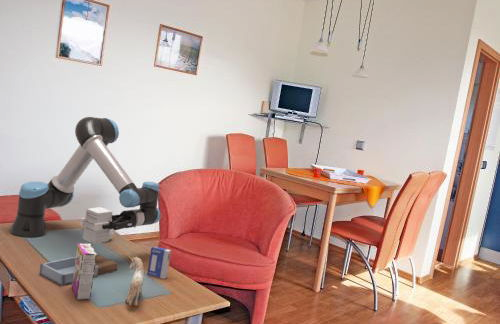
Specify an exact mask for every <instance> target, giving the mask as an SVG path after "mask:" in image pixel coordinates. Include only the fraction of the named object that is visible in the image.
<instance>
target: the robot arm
mask: <svg viewBox="0 0 500 324" xmlns="http://www.w3.org/2000/svg"><path fill="white" fill-rule="evenodd" d="M74 133H75V139H76V140H77V142H78V143H79V146H78V147H77V148H76V149H75V150H74V151H75V152H73V154H72V156H71V157H70V158H69V160H68V161H67V162H66V164H65V166H64V167H63V168H62V169H61V170H60V172H59V173H58V175H54V176H53V177H52V178H51V179H50V181H48V183H46V182H43V181H29V182H25V183H22V185H21V186H20V189H19V192H18V202H17V210H16V211H17V213H16V215H15V218H14V220H13V223H12V224H11V226H10V230H9V231H10V233H11V234H13V236H17V237H24V238H36V237H37V238H38V237H42V236H45V235H46V234H47V224H46V219H45V214H46V213H45V212H46V210H47V209H53V208H61V207H64V206H67V205H68V204H70V203H71V202H72V201H73V198H74V196H75V195H74V193H75V187H74V186H75V184H76V182H78V180H79V179H80V177H81V176H82V174H83V173H84V172H85V170H86V169H87V168H88V166H89V165H90V164H91V162H92V161H93V160H94V162H95V163H96V164H97V165H98V167H99V168H100V170H101V171H102V173H104V175H105V176H106V178H107V179H108V181H110V183H111V184H112V185H113V187H114V189H115V190H116V192H117V193H118V194H119V197H118V200H119V203H120V204H121V206H122V207H124V208H127V209H129V208H133V209H129V210H122V211H121V212H120V214H112V218H111V221H110V224H109V222H104V223H97V224H94V231H99V230H105V229H113V231H118V230H124V229H129V228H137V227H141V226H147V225H148V226H150V225H153V224H157V223H158V222H159V221H160V220H161V217H162V215H161V210H160V209H159V208H158V207H157V206H158V200H159V195H160V184H159V183H158V182H154V181H143V183H142V186H141V187H137V186H136V184H135V183H134V182H133V180H132V179H131V177H130V176H129V174H128V173H127V172H126V171H125V169H124V168H123V167H122V166H121V164H120V163H119V161H118V159H116V157H115V156H114V155H113V153H112V152H111V150H110V149H109V148H108V145H109V144H113V143H115V142H116V141H117V139H118V138H119V135H120V132H119V126H118V124H117V123H116V122H115V121H114V120H113V119H110V118H107V117H93V116H85V117H84V118H82V119H80V120H78V122H77V123H76V125H75V129H74ZM136 207H139V208H136ZM84 225H85V217H82V218H81V217H80V226H81V227H82V226H84Z"/></svg>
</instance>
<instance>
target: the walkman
mask: <svg viewBox="0 0 500 324" xmlns="http://www.w3.org/2000/svg"><path fill="white" fill-rule="evenodd" d="M149 253H150V254H149V259H148V265H147V273H146V275H148V276H151V277H155V278H159V279H164V280H165V279H167V277H168V274H169V273H168V271H169V267H170V260H171V255H172V249H168V248H164V247H159V246H156V245H153V246H151V249H150V252H149Z"/></svg>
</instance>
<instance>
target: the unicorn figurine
mask: <svg viewBox="0 0 500 324" xmlns="http://www.w3.org/2000/svg"><path fill="white" fill-rule="evenodd" d="M124 255H125V256H126V257H127V258H128V259H129V260H130V261H131V263H130V265H129V270H133V269H134V268H135V271H134V273H133V275H132V276H131V277H132V278H131V280H130V282H129V285H128V287H129V288H128V292H127V295H126V297H125V302H126V304H129V306H131V305H132V303H133V305H134V306H135V307H136V306H138V299H139V297H141V296H142V292H143V286H144V281H145V276H144V273H145V271H144V269H145V268H144V263H143V261H142V259H141V258H140V257H138V256H135V257H134V256H132V257H131V256H130V255H128V253H126V252H124ZM134 298H135V300H134ZM133 301H134V302H133Z"/></svg>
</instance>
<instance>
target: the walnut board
mask: <svg viewBox="0 0 500 324" xmlns="http://www.w3.org/2000/svg"><path fill="white" fill-rule="evenodd" d="M95 266H99V267H98V274H97V277H98V276H101V275H105V274H109V273H113V272H116V271H118V266H119V265H118V263H117V262H116V261H113V260H111V259H109V258H106V257H105V256H102V255H101V254H97V256H96V263H95Z"/></svg>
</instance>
